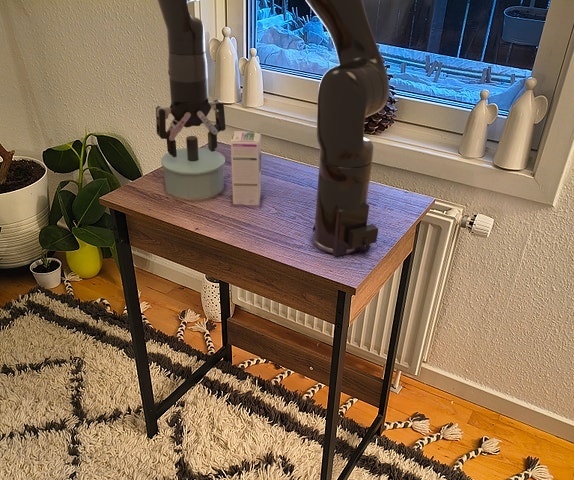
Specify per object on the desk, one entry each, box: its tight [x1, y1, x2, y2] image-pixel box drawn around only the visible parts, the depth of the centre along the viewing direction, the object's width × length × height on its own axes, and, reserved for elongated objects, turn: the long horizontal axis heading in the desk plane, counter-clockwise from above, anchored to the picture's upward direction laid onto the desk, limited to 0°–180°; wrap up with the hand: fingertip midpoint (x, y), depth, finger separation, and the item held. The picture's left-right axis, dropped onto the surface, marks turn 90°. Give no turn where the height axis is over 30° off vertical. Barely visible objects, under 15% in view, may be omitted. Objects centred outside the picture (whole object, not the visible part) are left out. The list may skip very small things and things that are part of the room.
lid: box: [160, 135, 226, 175], centre depth 124 cm, size 14×14×6 cm
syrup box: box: [230, 130, 262, 206], centre depth 120 cm, size 6×6×14 cm
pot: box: [163, 165, 225, 200], centre depth 127 cm, size 13×13×6 cm
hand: (193, 153), depth 124 cm, fingers open, 8 cm apart
